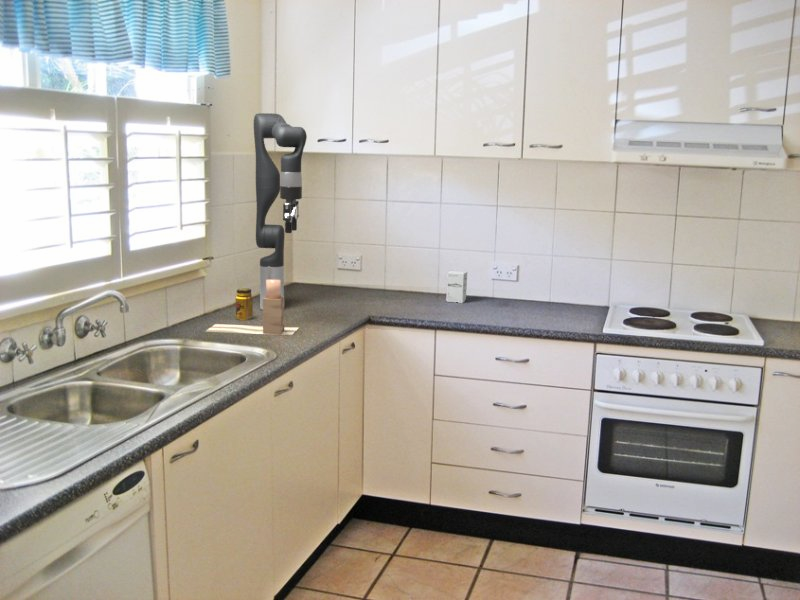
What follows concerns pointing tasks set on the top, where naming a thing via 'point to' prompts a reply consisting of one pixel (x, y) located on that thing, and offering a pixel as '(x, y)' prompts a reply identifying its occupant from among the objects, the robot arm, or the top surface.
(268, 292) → the terracotta capsule
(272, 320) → the walnut block bottom
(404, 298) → the top surface
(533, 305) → the top surface
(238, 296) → the condiment
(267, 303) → the walnut block top
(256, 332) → the birch board
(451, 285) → the supplement box
